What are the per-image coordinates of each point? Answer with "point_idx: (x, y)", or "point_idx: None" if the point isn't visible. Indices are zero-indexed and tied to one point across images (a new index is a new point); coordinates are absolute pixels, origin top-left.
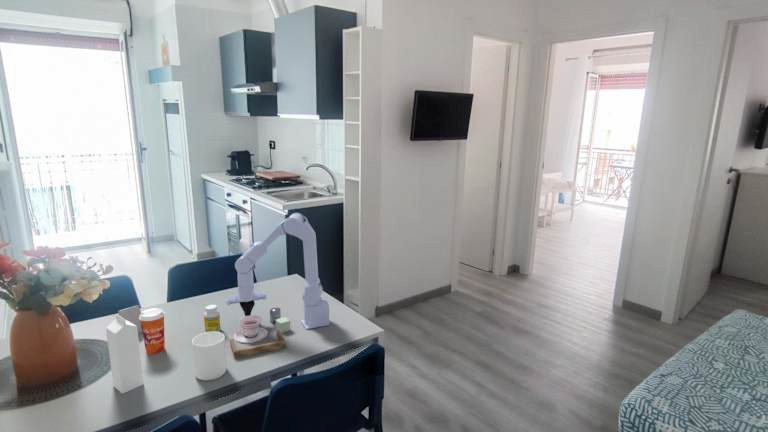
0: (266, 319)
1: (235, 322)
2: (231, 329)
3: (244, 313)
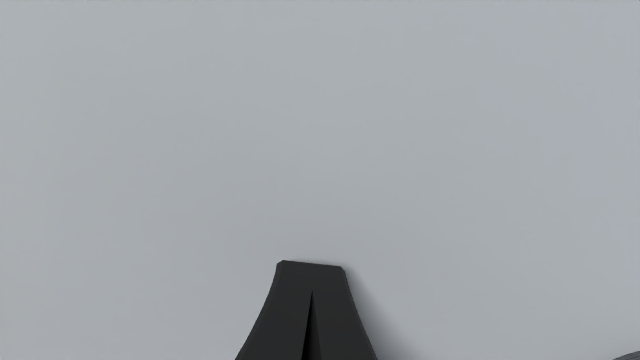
0: (589, 306)
1: (112, 174)
2: (38, 334)
3: (257, 327)
